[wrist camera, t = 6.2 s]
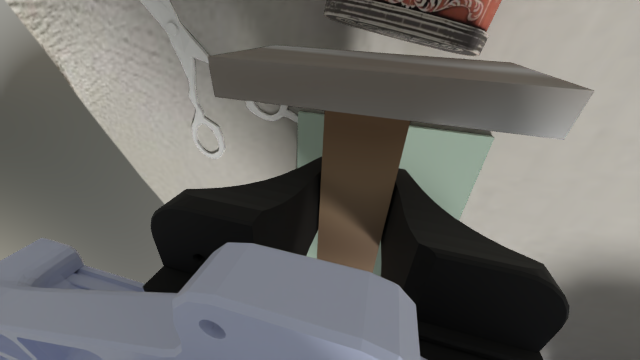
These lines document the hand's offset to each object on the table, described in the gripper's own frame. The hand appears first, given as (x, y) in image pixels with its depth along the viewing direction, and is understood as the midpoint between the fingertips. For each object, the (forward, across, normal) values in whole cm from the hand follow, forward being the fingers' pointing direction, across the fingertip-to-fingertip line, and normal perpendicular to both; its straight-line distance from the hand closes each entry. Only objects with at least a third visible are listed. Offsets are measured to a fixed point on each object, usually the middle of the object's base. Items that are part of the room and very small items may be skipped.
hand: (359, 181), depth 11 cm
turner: (+2, 0, +1) cm, 3 cm away
